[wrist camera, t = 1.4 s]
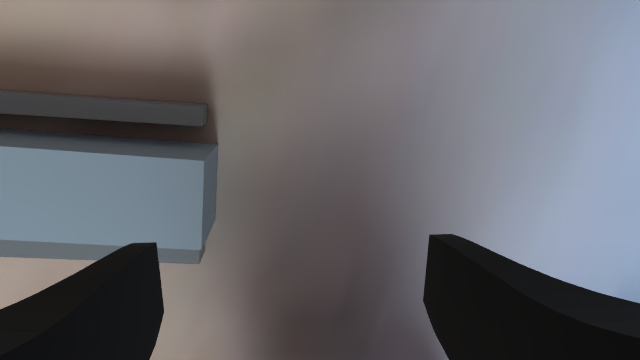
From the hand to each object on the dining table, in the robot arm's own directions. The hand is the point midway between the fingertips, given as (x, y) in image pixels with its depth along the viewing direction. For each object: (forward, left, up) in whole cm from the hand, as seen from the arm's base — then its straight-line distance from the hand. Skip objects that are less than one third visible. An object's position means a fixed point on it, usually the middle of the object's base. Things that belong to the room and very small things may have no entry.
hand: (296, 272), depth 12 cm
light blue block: (+9, 0, -10) cm, 14 cm away
